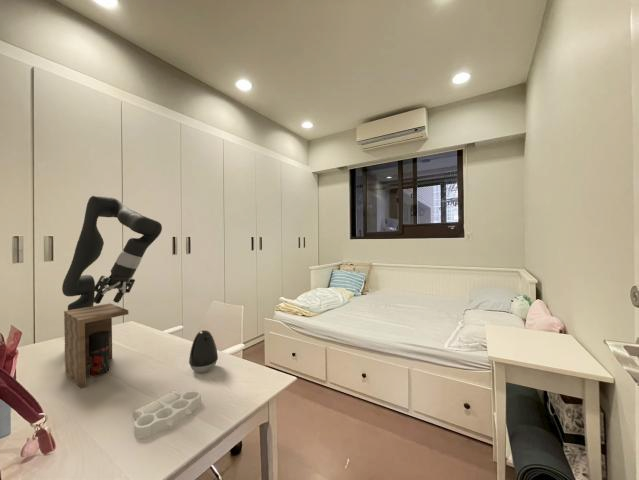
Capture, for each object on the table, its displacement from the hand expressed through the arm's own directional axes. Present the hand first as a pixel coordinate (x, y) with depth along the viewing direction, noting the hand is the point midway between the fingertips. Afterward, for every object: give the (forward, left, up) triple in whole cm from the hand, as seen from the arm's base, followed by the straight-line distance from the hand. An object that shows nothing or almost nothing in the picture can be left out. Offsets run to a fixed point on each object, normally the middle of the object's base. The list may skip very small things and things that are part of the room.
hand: (106, 302), depth 103 cm
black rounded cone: (+31, +22, -27) cm, 46 cm away
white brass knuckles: (+47, +1, -27) cm, 54 cm away
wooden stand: (-2, -3, -26) cm, 27 cm away
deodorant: (0, -2, -27) cm, 27 cm away
